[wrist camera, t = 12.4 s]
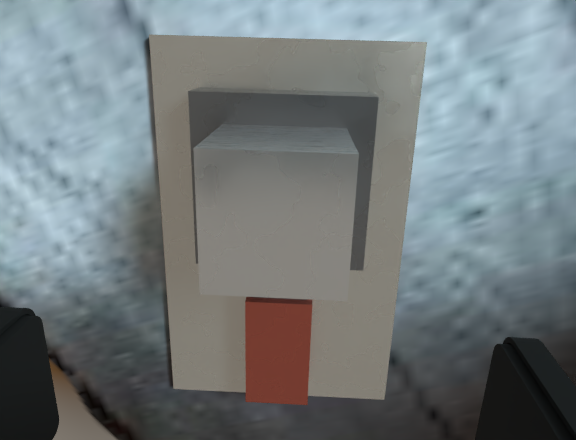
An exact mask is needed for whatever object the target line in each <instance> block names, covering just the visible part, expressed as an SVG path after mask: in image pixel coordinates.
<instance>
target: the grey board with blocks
mask: <svg viewBox="0 0 576 440" xmlns="http://www.w3.org/2000/svg"><path fill="white" fill-rule="evenodd" d="M149 42H150V56H151V71H152V85H153V100H154V114H155V128H156V143H157V157H158V172H159V186H160V201H161V215H162V229H163V244H164V258H165V273H166V287H167V302H168V316H169V330H170V345H171V359H172V374H173V388H174V389H188V390H207V391H227V392H246V402H261V403H280V404H299V405H307V401H308V396H324V397H343V398H362V399H382V400H384V398H385V390H386V381H387V373H388V365H389V356H390V348H391V339H392V331H393V323H394V314H395V306H396V297H397V289H398V281H399V272H400V264H401V256H402V247H403V239H404V230H405V222H406V214H407V205H408V197H409V188H410V180H411V172H412V163H413V155H414V147H415V138H416V130H417V121H418V113H419V105H420V96H421V88H422V80H423V71H424V63H425V54H426V46H427V42H397V41H360V40H324V39H287V38H251V37H214V36H178V35H149ZM222 124H234V125H264V126H295V127H326V128H347V130H348V132H349V134H350V136H351V138H352V141H353V143H354V145H355V147H356V149H357V151H358V153H359V160H358V173H357V186H356V199H355V211H354V224H353V237H352V250H351V262H350V275H349V288H348V301H334V300H312V299H289V298H267V297H244V296H222V295H200V290H199V267H198V244H197V221H196V198H195V174H194V151H193V148H194V147H196V146H197V145H198V144H199V143H200V142H202V141H203V140H204V139H205V138H206V137H208V136H209V135H210V134H211V133H212V132H213V131H215V130H216V129H217V128H218V127H219V126H221V125H222Z"/></svg>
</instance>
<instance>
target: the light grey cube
mask: <svg viewBox="0 0 576 440" xmlns="http://www.w3.org/2000/svg"><path fill="white" fill-rule="evenodd" d="M193 151H194V174H195V198H196V221H197V244H198V267H199V290H200V295H222V296H244V297H267V298H289V299H312V300H334V301H348V288H349V275H350V262H351V250H352V237H353V224H354V211H355V199H356V186H357V173H358V160H359V153H358V151H357V149H356V147H355V145H354V143H353V141H352V138H351V136H350V134H349V132H348V130H347V128H326V127H295V126H264V125H234V124H222V125H221V126H219V127H218V128H217V129H216V130H215V131H213V132H212V133H211V134H210V135H209V136H208V137H206V138H205V139H204V140H203V141H202V142H200V143H199V144H198V145H197V146H196V147H194V148H193Z"/></svg>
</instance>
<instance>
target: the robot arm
mask: <svg viewBox="0 0 576 440" xmlns="http://www.w3.org/2000/svg"><path fill="white" fill-rule="evenodd" d="M58 425H59V415H58V409H57V404H56V398H55V392H54V387H53V380H52V375H51V369H50V363H49V358H48V352H47V346H46V340H45V335H44V329H43V323H42V320H41V318H40V317H38V316H35V313H34V312H33V310H31V309H28V308H12V307H0V440H52V439H53V438H54V436H55V434H56V432H57V428H58ZM475 440H576V387H575V385H574V384H573V383H572V381H571V380H570V379H569V377H568V376H567V375H566V373H565V372H564V371H563V369H562V368H561V367H560V366H559V364H558V363H557V362H556V360H555V359H554V358H553V356H552V355H551V354H550V352H549V351H548V350H547V348H546V347H545V346H544V344H543V343H542V342H541V341H540V340H539V339H532V338H515V337H507V338H506V339H505V340H504V342H503V344H497V345H496V346H495V347H494V351H493V355H492V360H491V365H490V370H489V375H488V379H487V384H486V389H485V394H484V399H483V403H482V408H481V413H480V418H479V423H478V428H477V432H476V437H475Z"/></svg>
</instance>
